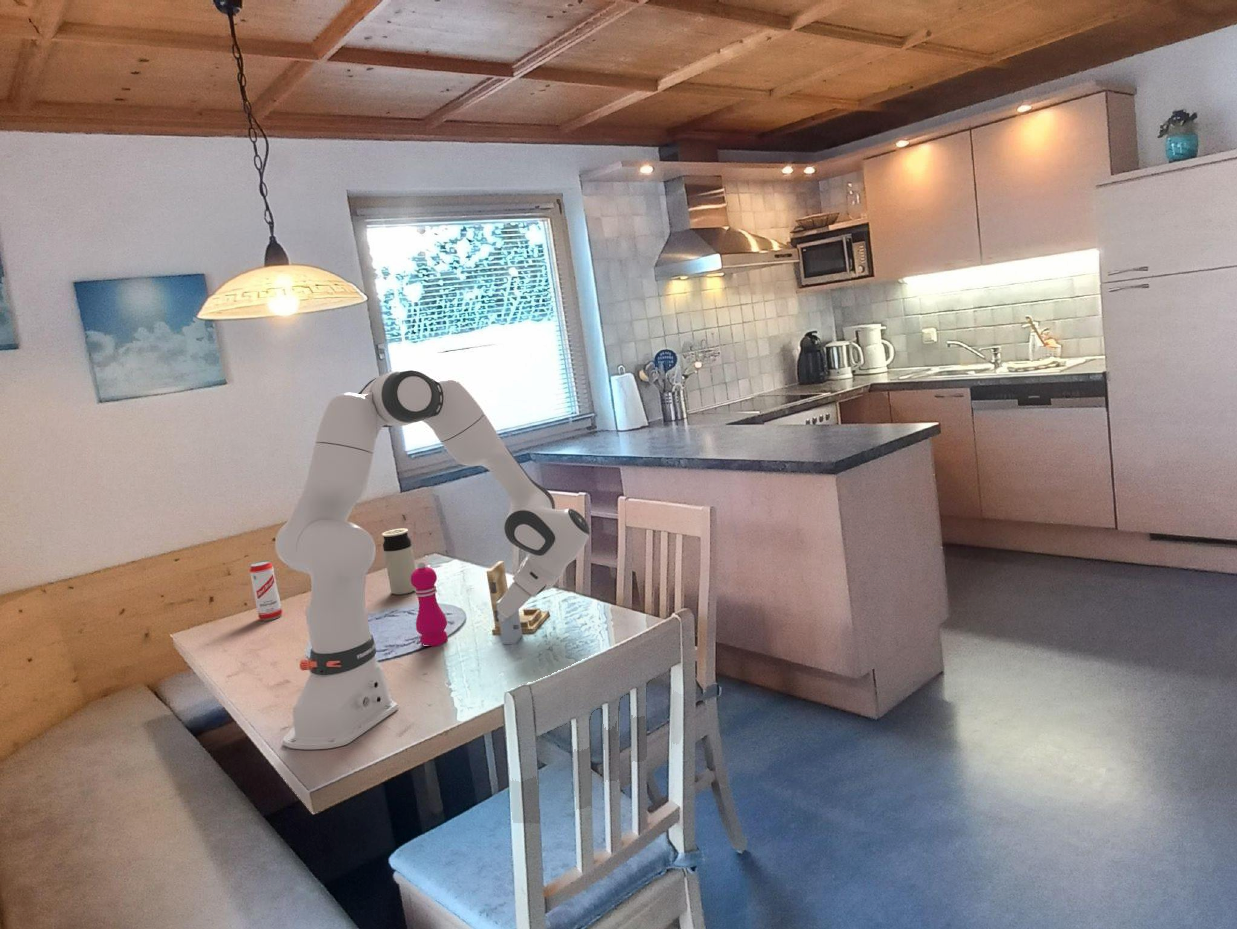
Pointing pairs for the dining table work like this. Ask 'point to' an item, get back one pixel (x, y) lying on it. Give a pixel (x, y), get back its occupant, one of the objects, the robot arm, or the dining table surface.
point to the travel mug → (399, 560)
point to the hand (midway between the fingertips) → (505, 613)
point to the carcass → (497, 590)
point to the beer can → (265, 590)
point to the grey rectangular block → (510, 628)
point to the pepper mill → (428, 607)
